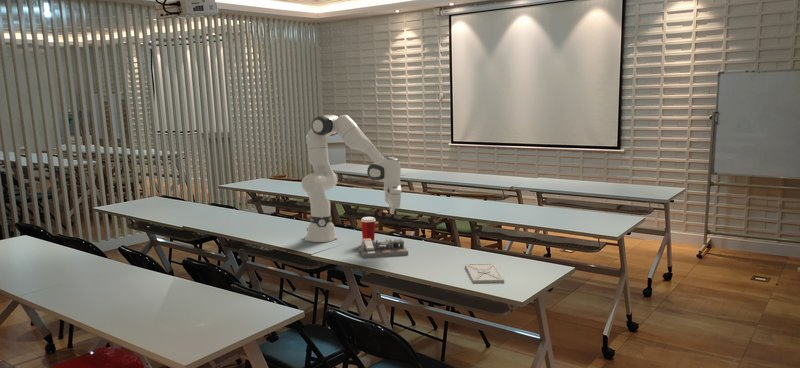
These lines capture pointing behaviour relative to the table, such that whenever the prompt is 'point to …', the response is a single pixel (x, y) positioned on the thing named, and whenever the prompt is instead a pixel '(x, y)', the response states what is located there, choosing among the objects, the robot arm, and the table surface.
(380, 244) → the rocker
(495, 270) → the envelope
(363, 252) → the switch panel
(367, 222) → the coffee cup
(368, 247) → the rocker
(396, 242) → the rocker
